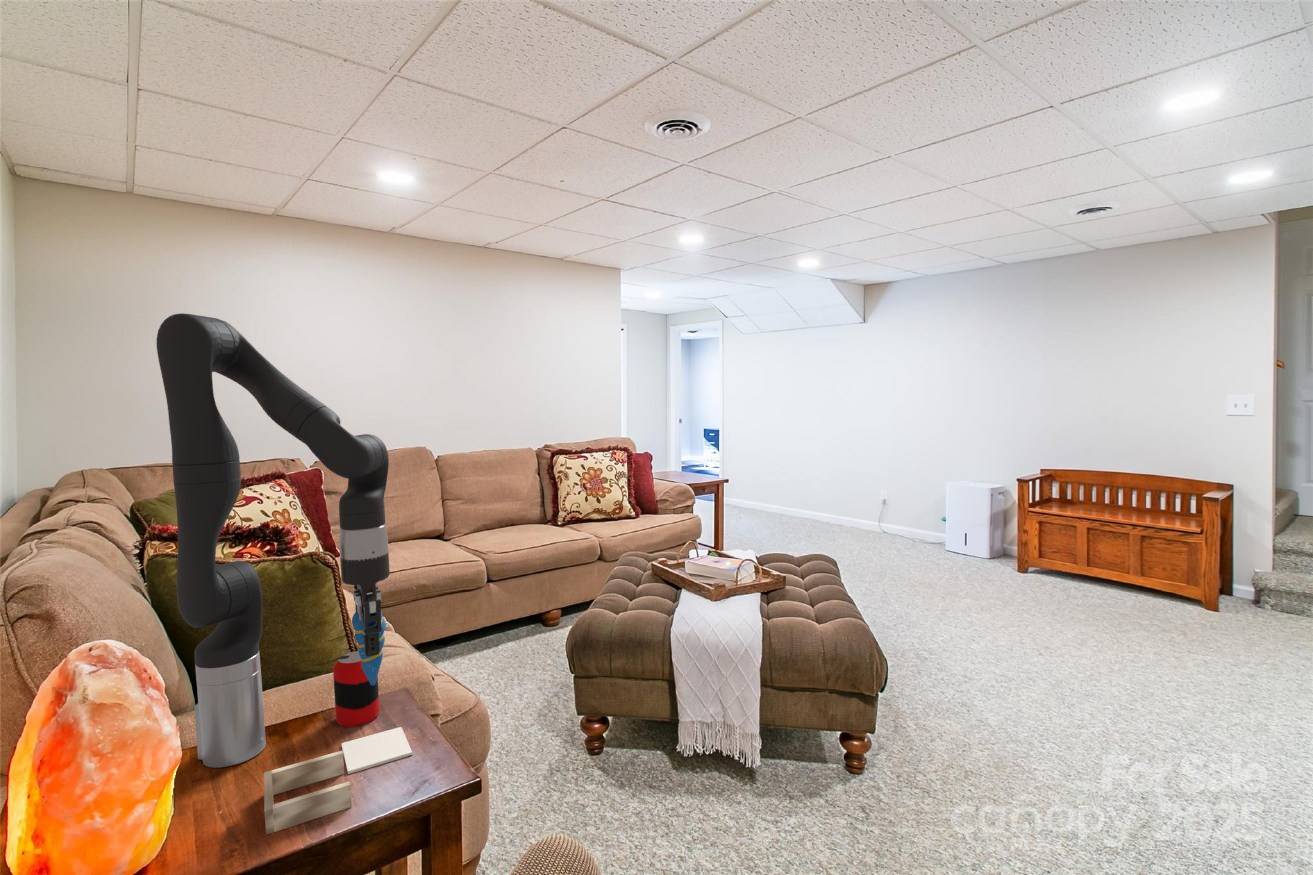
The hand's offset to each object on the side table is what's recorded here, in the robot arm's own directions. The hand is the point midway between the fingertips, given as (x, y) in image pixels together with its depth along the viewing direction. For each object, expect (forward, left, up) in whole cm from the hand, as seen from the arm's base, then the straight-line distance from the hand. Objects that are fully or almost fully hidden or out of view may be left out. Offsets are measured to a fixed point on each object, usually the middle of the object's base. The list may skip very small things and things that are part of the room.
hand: (370, 649), depth 110 cm
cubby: (-1, -14, -18) cm, 23 cm away
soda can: (-11, +9, -18) cm, 23 cm away
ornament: (0, 0, -7) cm, 7 cm away
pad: (0, 0, -18) cm, 18 cm away
